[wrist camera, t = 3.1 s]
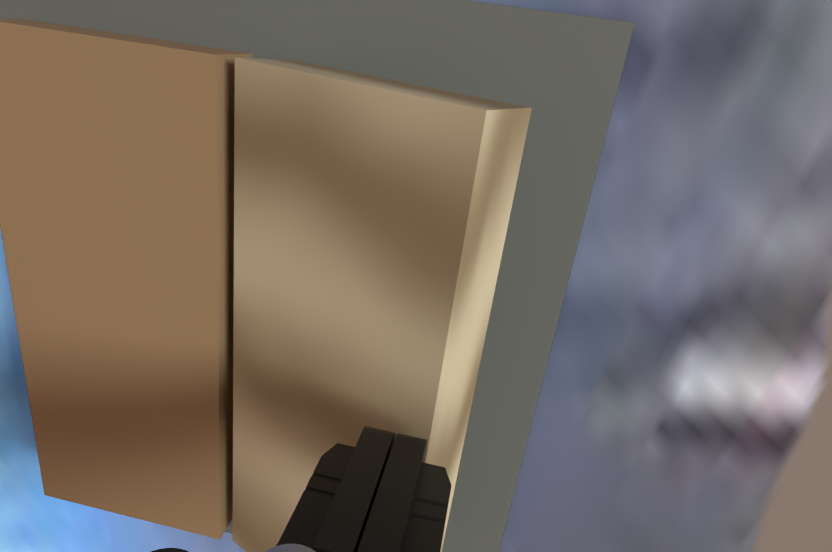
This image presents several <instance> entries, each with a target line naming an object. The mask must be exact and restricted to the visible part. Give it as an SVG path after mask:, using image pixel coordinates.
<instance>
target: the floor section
mask: <svg viewBox="0 0 832 552" xmlns="http://www.w3.org/2000/svg"><path fill="white" fill-rule="evenodd" d="M634 24H635V23H632V22H624V21H617V20H609V19H602V18H595V17H587V16H580V15H572V14H565V13H557V12H550V11H542V10H535V9H528V8H520V7H513V6H505V5H498V4H490V3H483V2H475V1H468V0H0V226H1V232H2V238H3V244H4V251H5V257H6V263H7V269H8V275H9V281H10V287H11V293H12V299H13V305H14V311H15V317H16V323H17V330H18V336H19V342H20V348H21V354H22V360H23V366H24V372H25V378H26V384H27V390H28V396H29V403H30V409H31V415H32V421H33V427H34V433H35V439H36V445H37V451H38V457H39V463H40V469H41V475H42V482H43V488H44V494H45V495H47V496H51V497H55V498H59V499H63V500H67V501H71V502H75V503H79V504H83V505H86V506H90V507H94V508H98V509H102V510H106V511H110V512H114V513H118V514H122V515H126V516H130V517H134V518H138V519H142V520H146V521H149V522H153V523H157V524H161V525H165V526H169V527H173V528H177V529H181V530H185V531H189V532H193V533H197V534H201V535H205V536H209V537H212V538H216V539H220V538H221V537H222V535H223V533H224V532H229V533H233V325H234V107H235V57H240V58H259V59H278V60H296V61H301V62H306V63H311V64H316V65H321V66H326V67H331V68H336V69H341V70H346V71H351V72H356V73H361V74H366V75H371V76H376V77H381V78H386V79H391V80H396V81H401V82H406V83H411V84H416V85H421V86H426V87H431V88H436V89H441V90H446V91H451V92H456V93H461V94H466V95H471V96H476V97H481V98H486V99H491V100H496V101H501V102H506V103H512V104H517V105H522V106H527V107H532V109H531V114H530V119H529V124H528V129H527V134H526V139H525V144H524V149H523V154H522V159H521V164H520V169H519V174H518V178H517V183H516V188H515V193H514V198H513V203H512V208H511V213H510V218H509V223H508V228H507V233H506V238H505V242H504V247H503V252H502V257H501V262H500V267H499V272H498V277H497V282H496V287H495V292H494V297H493V302H492V307H491V311H490V316H489V321H488V326H487V331H486V336H485V341H484V346H483V351H482V356H481V361H480V366H479V371H478V376H477V380H476V385H475V390H474V395H473V400H472V405H471V410H470V415H469V420H468V425H467V430H466V435H465V440H464V444H463V449H462V454H461V459H460V464H459V469H458V474H457V479H456V484H455V489H454V494H453V499H452V504H451V509H450V513H449V518H448V523H447V528H446V533H445V538H444V543H443V548H442V552H499V549H500V545H501V541H502V537H503V533H504V529H505V526H506V522H507V518H508V514H509V510H510V506H511V502H512V498H513V494H514V491H515V487H516V483H517V479H518V475H519V471H520V467H521V463H522V459H523V456H524V452H525V448H526V444H527V440H528V436H529V432H530V428H531V424H532V421H533V417H534V413H535V409H536V405H537V401H538V397H539V393H540V389H541V385H542V382H543V378H544V374H545V370H546V366H547V362H548V358H549V354H550V350H551V347H552V343H553V339H554V335H555V331H556V327H557V323H558V319H559V315H560V312H561V308H562V304H563V300H564V296H565V292H566V288H567V284H568V280H569V277H570V273H571V269H572V265H573V261H574V257H575V253H576V249H577V245H578V242H579V238H580V234H581V230H582V226H583V222H584V218H585V214H586V210H587V207H588V203H589V199H590V195H591V191H592V187H593V183H594V179H595V175H596V171H597V168H598V164H599V160H600V156H601V152H602V148H603V144H604V140H605V136H606V133H607V129H608V125H609V121H610V117H611V113H612V109H613V105H614V101H615V98H616V94H617V90H618V86H619V82H620V78H621V74H622V70H623V66H624V63H625V59H626V55H627V51H628V47H629V43H630V39H631V35H632V31H633V28H634Z"/></svg>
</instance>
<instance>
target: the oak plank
mask: <svg viewBox="0 0 832 552" xmlns="http://www.w3.org/2000/svg"><path fill="white" fill-rule="evenodd" d="M531 109H532V107H527V106H522V105H517V104H512V103H506V102H501V101H496V100H491V99H486V98H481V97H476V96H471V95H466V94H461V93H456V92H451V91H446V90H441V89H436V88H431V87H426V86H421V85H416V84H411V83H406V82H401V81H396V80H391V79H386V78H381V77H376V76H371V75H366V74H361V73H356V72H351V71H346V70H341V69H336V68H331V67H326V66H321V65H316V64H311V63H306V62H301V61H296V60H278V59H259V58H240V57H235V107H234V325H233V541H234V542H235V543H237V544H238V545H239V546H240V547H241V548H243V549H244V550H245V551H246V552H265V551H267V550H269V549H270V548H272V547H275V546H276V545H277V543H278V542H279V540H280V538H281V536H282V534H283V532H284V530H285V528H286V526H287V524H288V522H289V520H290V518H291V516H292V514H293V512H294V510H295V508H296V506H297V504H298V502H299V500H300V498H301V496H302V494H303V492H304V490H305V489H306V486H307V484H308V482H309V480H310V478H311V476H312V475H313V472H314V470H315V468H316V466H317V464H318V462H319V460H320V458H321V456H322V455H323V454H324V453H326V452H327V451H328V450H329V449H331V448H332V447H333V446H334V445H336V444H337V443H340V444H344V445H349V446H353V447H355V446H356V444H357V442H358V439H359V437H360V435H361V432H362V430H363V428H364V427H365V426H368V427H372V428H377V429H381V430H386V431H390V432H394V433H395V437H396V435H397V433H400V434H404V435H408V436H413V437H417V438H422V439H426V440H427V448H426V453H425V459H424V463H428V464H432V465H437V466H441V467H445V468H446V471H447V474H448V477H449V480H450V483H451V492H450V498H449V503H448V509H447V515H446V521H445V527H444V533H443V539H442V545H441V550H440V552H442V548H443V543H444V538H445V533H446V528H447V523H448V518H449V513H450V509H451V504H452V499H453V494H454V489H455V484H456V479H457V474H458V469H459V464H460V459H461V454H462V449H463V444H464V440H465V435H466V430H467V425H468V420H469V415H470V410H471V405H472V400H473V395H474V390H475V385H476V380H477V376H478V371H479V366H480V361H481V356H482V351H483V346H484V341H485V336H486V331H487V326H488V321H489V316H490V311H491V307H492V302H493V297H494V292H495V287H496V282H497V277H498V272H499V267H500V262H501V257H502V252H503V247H504V242H505V238H506V233H507V228H508V223H509V218H510V213H511V208H512V203H513V198H514V193H515V188H516V183H517V178H518V174H519V169H520V164H521V159H522V154H523V149H524V144H525V139H526V134H527V129H528V124H529V119H530V114H531Z"/></svg>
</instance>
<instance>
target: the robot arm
mask: <svg viewBox="0 0 832 552" xmlns="http://www.w3.org/2000/svg"><path fill="white" fill-rule="evenodd" d="M426 448H427V440H426V439H422V438H417V437H413V436H408V435H404V434H400V433H397V435H396V437H395V433H394V432H390V431H386V430H381V429H377V428H372V427H368V426H365V427H364V428H363V430H362V432H361V435H360V437H359V439H358V442H357V444H356V446H355V447H353V446H349V445H344V444H340V443H337V444H336V445H334V446H333V447H332V448H331V449H329V450H328V451H327V452H326V453H324V454H323V455H322V456H321V458H320V460H319V462H318V464H317V466H316V468H315V470H314V472H313V475H312V476H311V478H310V480H309V482H308V484H307V486H306V489H305V490H304V492H303V494H302V496H301V498H300V500H299V502H298V504H297V506H296V508H295V510H294V512H293V514H292V516H291V518H290V520H289V522H288V524H287V526H286V528H285V530H284V532H283V534H282V536H281V538H280V540H279V542H278V543H277V545H276V546H275V547H272V548H270V549H269V550H267V551H265V552H440V550H441V545H442V539H443V533H444V527H445V521H446V515H447V509H448V503H449V498H450V492H451V483H450V480H449V477H448V474H447V471H446V468H445V467H441V466H437V465H432V464H428V463H424V459H425V453H426ZM152 552H188V551H186V550H182V549H177V548H165V549H159V550H155V551H152Z"/></svg>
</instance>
